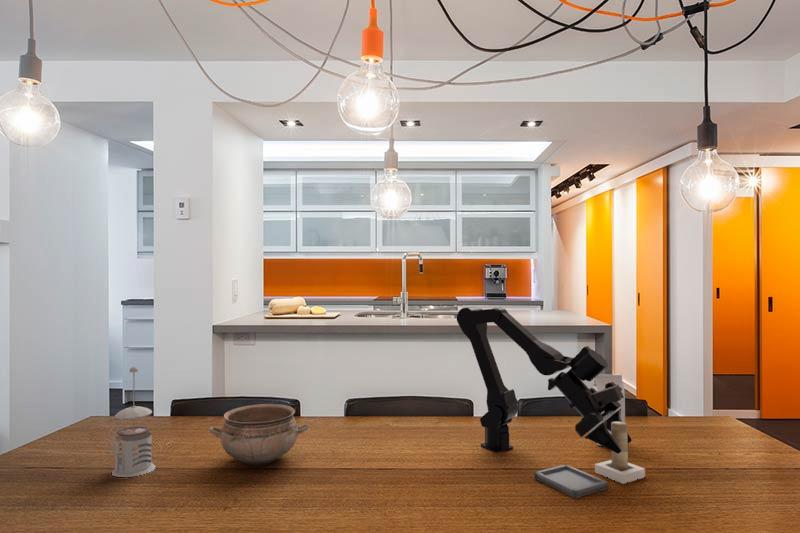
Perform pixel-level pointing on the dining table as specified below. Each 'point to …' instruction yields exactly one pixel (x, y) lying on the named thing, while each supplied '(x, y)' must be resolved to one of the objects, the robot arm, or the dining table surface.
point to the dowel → (622, 440)
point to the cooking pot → (259, 433)
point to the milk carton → (600, 385)
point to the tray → (571, 481)
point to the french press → (132, 443)
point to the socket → (622, 477)
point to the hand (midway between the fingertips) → (625, 446)
